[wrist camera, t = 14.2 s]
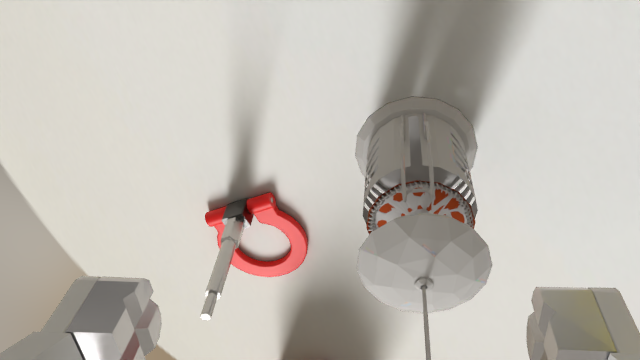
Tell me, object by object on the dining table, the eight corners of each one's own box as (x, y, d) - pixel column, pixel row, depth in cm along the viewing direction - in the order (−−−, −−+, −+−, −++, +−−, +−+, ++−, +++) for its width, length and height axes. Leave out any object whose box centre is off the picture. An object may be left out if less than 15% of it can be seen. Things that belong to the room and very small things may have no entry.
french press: (361, 203, 49) (338, 494, 28) (345, 80, 43) (302, 340, 22) (476, 197, 47) (541, 501, 27) (478, 68, 41) (565, 337, 20)
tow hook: (322, 256, 54) (279, 184, 49) (308, 374, 43) (250, 297, 38) (247, 276, 56) (198, 210, 51) (216, 392, 46) (152, 321, 41)
